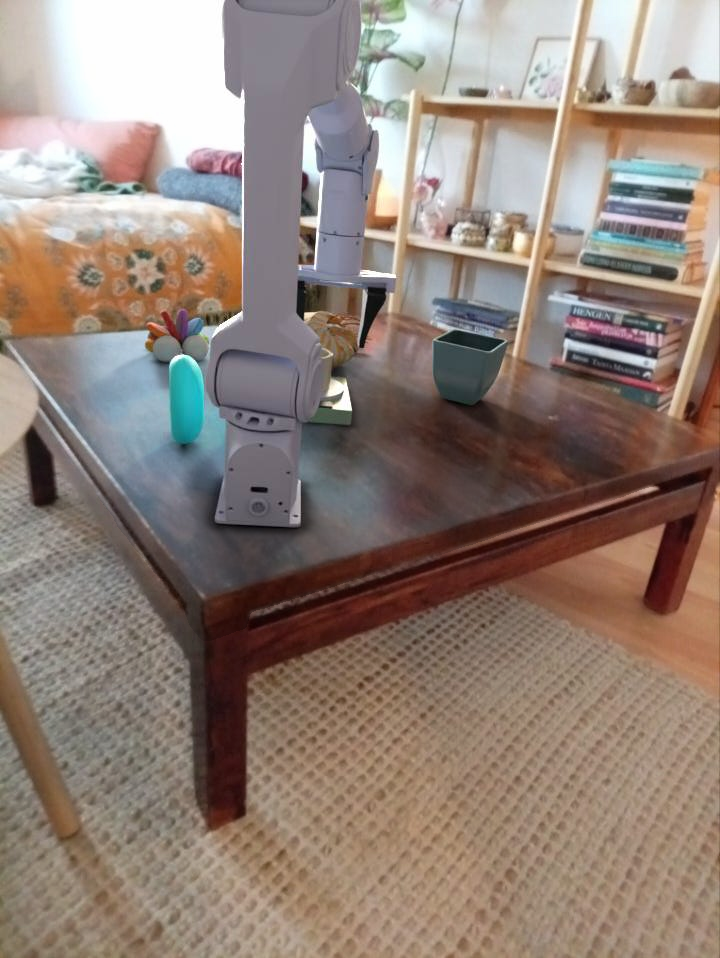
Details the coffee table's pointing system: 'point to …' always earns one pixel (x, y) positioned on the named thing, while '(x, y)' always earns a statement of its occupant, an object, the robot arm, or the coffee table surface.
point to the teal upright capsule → (185, 399)
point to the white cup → (326, 368)
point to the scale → (334, 404)
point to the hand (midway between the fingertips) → (330, 343)
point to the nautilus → (334, 335)
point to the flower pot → (466, 364)
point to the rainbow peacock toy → (177, 337)
